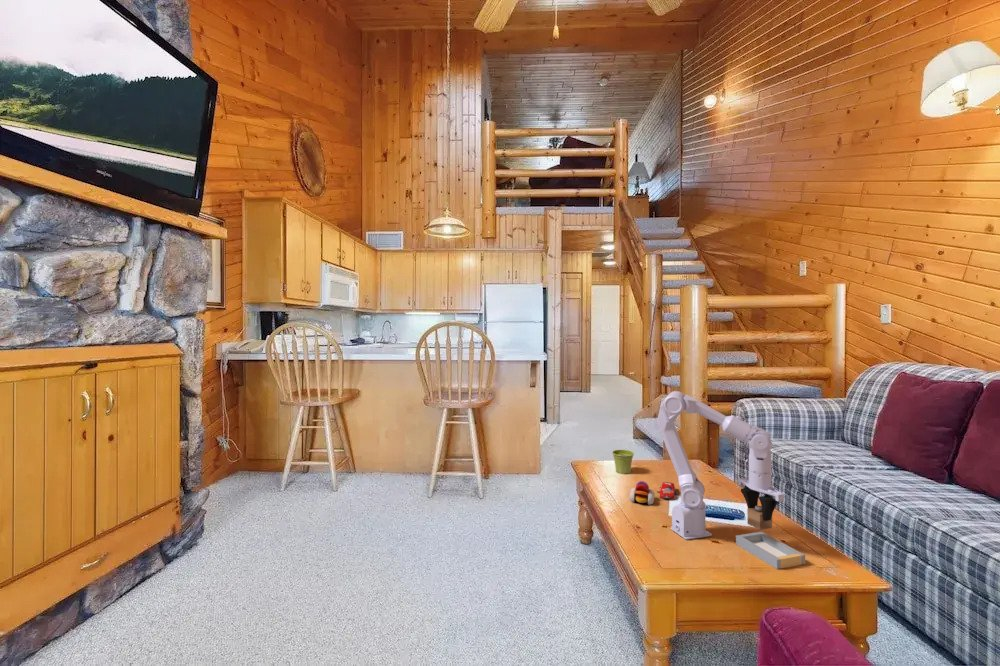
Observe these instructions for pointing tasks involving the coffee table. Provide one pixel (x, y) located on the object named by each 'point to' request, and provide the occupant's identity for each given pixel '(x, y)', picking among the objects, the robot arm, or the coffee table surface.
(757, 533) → the tray
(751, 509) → the block with grey knob
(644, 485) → the rainbow flower
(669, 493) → the race car
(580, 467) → the coffee table surface
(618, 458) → the plant pot
